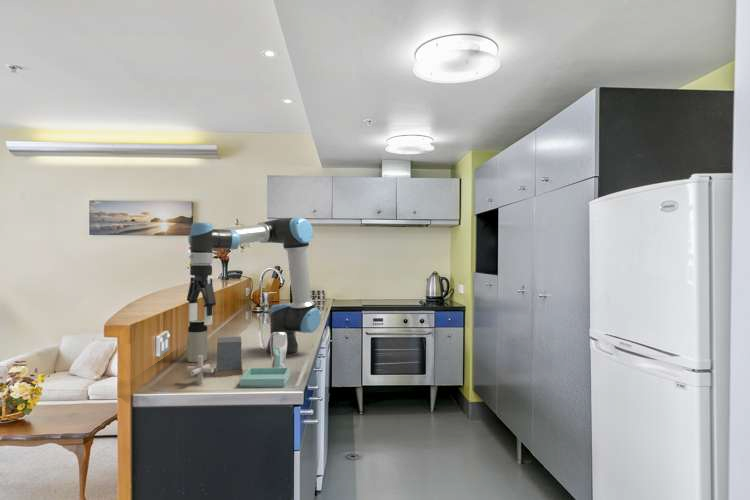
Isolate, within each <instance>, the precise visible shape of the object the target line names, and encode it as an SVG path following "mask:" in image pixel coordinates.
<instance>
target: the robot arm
mask: <svg viewBox="0 0 750 500" xmlns="http://www.w3.org/2000/svg"><path fill="white" fill-rule="evenodd" d="M313 236H314V230H313V226H312V224H311V223H310V221H308V220H307V219H306V218H304V217H291V218H290V217H287V218H277V219H272V220H268V221H262V222H258V223H256V224H253V225H243V226H242V225H241V226H234V227H226V228H225V227H223V228H216V229H215V228H214V225H213V223H211V222H193V223H192V224H191V225H190V233H189V236H188V239H187V240H188V244H189V246H190V255H189V256H188V257H189V260H190V266H189V276H190V282H189V288H188V292H187V297H186V301H187V302H188V304H189V307H188V308H189V309H188V310H189V311H188V312H189V314H188V317H189V318H188V322H189V321H195V320H197V319H198V303H199V301H198V299H199V297H200V293H201V295H202V298H203V302H204V305H203V307H204V310H203V312H204V313H203V314H204V315H203V317H204V318H203V319H204V325H207V326H211V325H212V326H213V320H214V319H213V315H214V314H213V311H214V309H213V307H214V306H215V305H217V301H216V296H215V292H214V286H213V278H209V277H208V276H212V275H213V266H212V264H213V250H235V249H238V248H239V246H240V245H243V244H250V243H257V242H259V243H261V244H266V243H275V244H282V245H283V249H284V250H285V251H286V252H287V259H288V270H289V280H290V288H291V299H292V302H291V303H280V304H273V305H272V306H271V308H270V313H269V314H270V315H269V316H270V317H269V320H270V321H269V322H270V326H269V329H270V333H269V334H270V336H271V333H273V332H286V333H287V351H286V355H288V354H294V353H297V352H299V345H298V342H297V338H296V333H295V332H297V333H303V334H307V333H308V334H311V333H314V332H315V331H316V330H318V329H319V326H320V325H321V321H322V313H321V311H320V310H319V309H318V308H317V307H316V303H315V301H314V300H312V296H311V295H312V294H311V286H310V275H309V263H308V257H307V256H308V255H307V249H308V248H309V246H310V242H311V241H312V240H313ZM192 276H193V277H192ZM270 336H269V337H270ZM266 353H267V354H271V351H270V338H269V339H268V342H267V344H266Z"/></svg>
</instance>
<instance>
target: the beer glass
mask: <svg viewBox="0 0 750 500" xmlns="http://www.w3.org/2000/svg"><path fill="white" fill-rule="evenodd" d="M269 339H270V351H271V353H270V355H271V367H270V368H287V367H286V358H287V357H286V355H287V354H286V351H287V333H286V332H273V333H271V336H269Z"/></svg>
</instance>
